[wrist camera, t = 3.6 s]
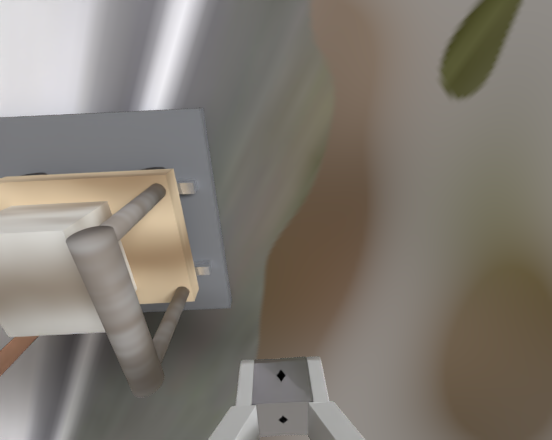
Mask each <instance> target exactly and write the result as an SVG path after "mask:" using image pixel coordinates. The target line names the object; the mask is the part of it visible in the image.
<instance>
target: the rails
mask: <svg viewBox="0 0 552 440" xmlns="http://www.w3.org/2000/svg"><path fill="white" fill-rule="evenodd" d="M176 182H177V187H178V192H179V194H195V193H196V191H197V190H198V184H197V178H194V179H176ZM193 262H194V267H195V272H196V275H210V273H211V270H212V263H211V260H193Z"/></svg>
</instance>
